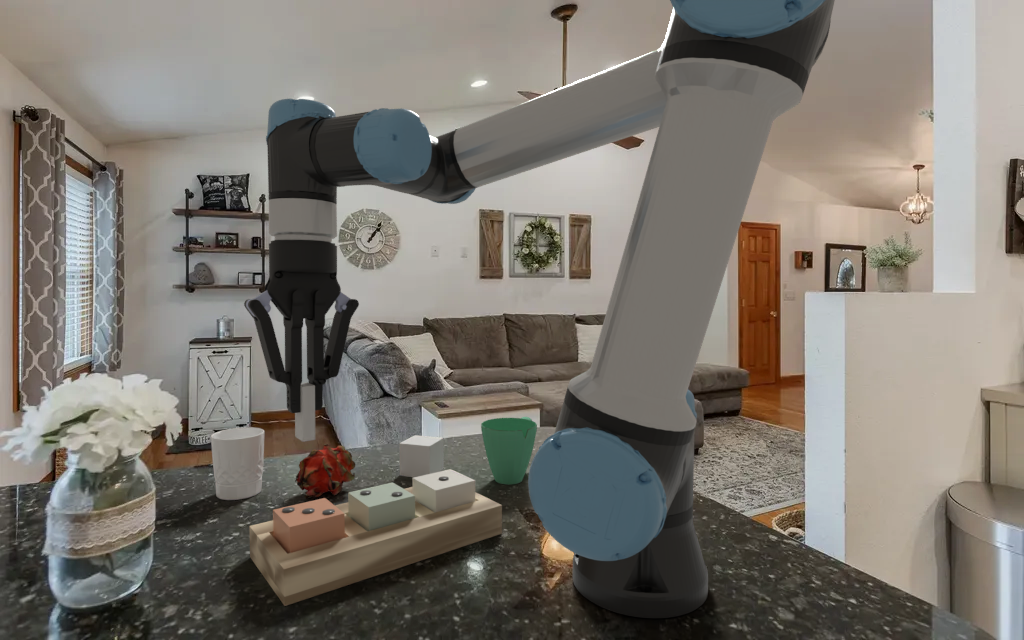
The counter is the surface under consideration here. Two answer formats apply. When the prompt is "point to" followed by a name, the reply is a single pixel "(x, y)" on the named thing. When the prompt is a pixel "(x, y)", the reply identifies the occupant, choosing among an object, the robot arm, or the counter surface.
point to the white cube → (421, 456)
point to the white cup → (238, 462)
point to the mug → (509, 447)
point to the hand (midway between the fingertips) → (305, 438)
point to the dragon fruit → (325, 471)
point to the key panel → (370, 548)
